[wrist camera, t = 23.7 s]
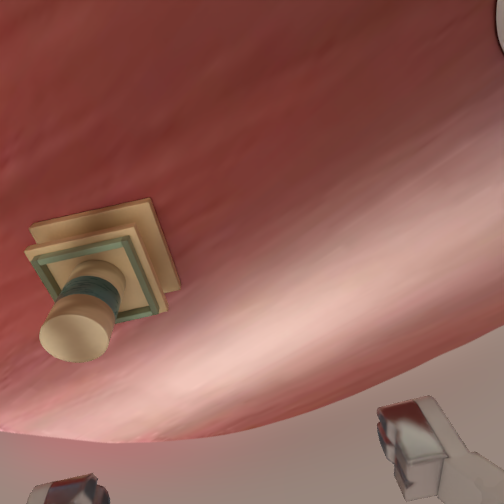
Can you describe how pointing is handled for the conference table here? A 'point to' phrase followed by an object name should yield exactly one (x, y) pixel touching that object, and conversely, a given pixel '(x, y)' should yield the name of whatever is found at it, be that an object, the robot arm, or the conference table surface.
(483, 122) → the conference table surface
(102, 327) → the beige banded cylinder
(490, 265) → the conference table surface
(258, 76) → the conference table surface
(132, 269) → the stand
